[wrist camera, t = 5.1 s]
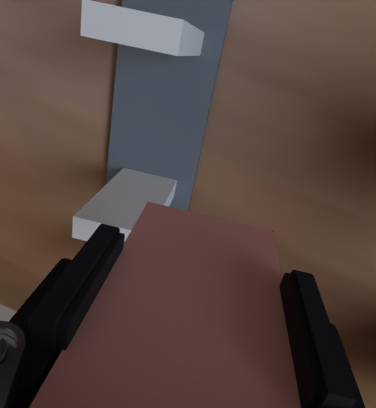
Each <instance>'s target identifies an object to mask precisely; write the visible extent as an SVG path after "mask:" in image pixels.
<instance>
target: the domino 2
mask: <svg viewBox="0 0 376 408" xmlns="http://www.w3.org/2000/svg"><path fill="white" fill-rule="evenodd" d="M176 183H177V180H174V179H170V178H165V177H161V176H157V175H152V174H148V173H144V172H139V171H135V170H131V169H127V168H123V169H122V170H121V171H120V172H119V173H118V174H116V175H115V176H114V177H113V178H112V179H111V180H110V181H109V182H108V183H107V184H106V185H105V186H104V187H103V188H102V189H101V190H100V191H99V192H98V193H97V194H96V195H95V196H94V197H93V198H92V199H91V200H89V201H88V202H87V203H86V204H85V205H84V206H83V207H82V208H81V209H80V210H79V211H78V212H77V213H76V214H75V215H74V216H73V228H72V238H76V239H80V240H84V241H88V239H89V238H90V237H91V236H92V234H93V233H94V232H95V230H96V229H97V228H98V226H99V225H100V224H106V225H110V226H115V227H119V229H120V233H124V234H125V239H124V242H125V241H126V239H127V237H128V235H129V234H130V232H131V230H132V228H133V227H134V225H135V223H136V221H137V220H138V218H139V216H140V215H141V213H142V211H143V209H144V208H145V206H146V204H147V202H152V203H156V204H160V205H165V206H170V204H171V202H172V199H173V197H174V194H175V188H176Z"/></svg>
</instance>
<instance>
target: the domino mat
mask: <svg viewBox="0 0 376 408" xmlns="http://www.w3.org/2000/svg"><path fill="white" fill-rule="evenodd" d="M231 4H232V0H122V3H121V7H124V8H129V9H134V10H139V11H144V12H149V13H154V14H158V15H163V16H168V17H173V18H178V19H183V20H185V21H187V22H188V23H190V24H191V25H193V26H195V27H196V28H198V29H200V30H201V31H203V32H205V33H204V38H203V44H202V49H201V54H200V56H174V55H170V54H165V53H160V52H155V51H151V50H146V49H141V48H137V47H132V46H127V45H122V44H118V50H117V61H116V73H115V84H114V96H113V107H112V119H111V130H110V142H109V153H108V165H107V177H106V184H107V183H108V182H109V181H110V180H111V179H112V178H113V177H114V176H115V175H116V174H118V173H119V172H120V171H121V170H122V169H123V168H127V169H131V170H135V171H139V172H144V173H148V174H152V175H157V176H161V177H165V178H170V179H174V180H177V183H176V188H175V194H174V197H173V199H172V202H171V204H170V206H169V207H173V208H177V209H182V210H186V211H188V208H189V203H190V198H191V193H192V189H193V184H194V179H195V175H196V170H197V165H198V160H199V156H200V151H201V146H202V141H203V137H204V132H205V127H206V122H207V118H208V113H209V108H210V103H211V99H212V94H213V89H214V85H215V80H216V75H217V70H218V66H219V61H220V56H221V51H222V47H223V42H224V37H225V32H226V28H227V23H228V18H229V13H230V9H231Z"/></svg>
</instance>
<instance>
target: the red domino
mask: <svg viewBox="0 0 376 408" xmlns="http://www.w3.org/2000/svg"><path fill="white" fill-rule="evenodd" d="M281 281H282V275H281V270H280V265H279V260H278V255H277V250H276V245H275V240H274V235H273V231H270V230H266V229H262V228H258V227H253V226H249V225H245V224H241V223H236V222H232V221H228V220H224V219H220V218H215V217H211V216H207V215H203V214H198V213H194V212H190V211H186V210H182V209H177V208H173V207H169V206H165V205H160V204H156V203H152V202H147V204H146V206H145V208H144V209H143V211H142V213H141V215H140V216H139V218H138V220H137V221H136V223H135V225H134V227H133V228H132V230H131V232H130V234H129V235H128V237H127V239H126V241H125V242H124V247H123V250H122V252H121V254H120V255H119V257H118V259H117V261H116V262H115V264H114V266H113V268H112V270H111V271H110V273H109V275H108V277H107V278H106V280H105V282H104V284H103V286H102V287H101V289H100V291H99V293H98V294H97V296H96V298H95V300H94V302H93V303H92V305H91V307H90V309H89V310H88V312H87V314H86V316H85V318H84V319H83V321H82V323H81V325H80V326H79V328H78V330H77V332H76V333H75V335H74V337H73V339H72V341H71V342H70V344H69V346H68V348H67V349H66V350H62V351H61V353H60V355H59V357H58V358H57V360H56V362H55V364H54V365H53V367H52V369H51V370H50V372H49V374H48V376H47V377H46V379H45V381H44V383H43V384H42V386H41V388H40V389H39V391H38V393H37V395H36V396H35V398H34V400H33V402H32V403H31V405H30V407H29V408H301V404H300V398H299V393H298V387H297V382H296V376H295V371H294V365H293V360H292V354H291V349H290V343H289V338H288V332H287V327H286V321H285V316H284V310H283V305H282V299H281V294H280V288H279V286H280V283H281Z"/></svg>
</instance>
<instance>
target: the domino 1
mask: <svg viewBox="0 0 376 408" xmlns="http://www.w3.org/2000/svg"><path fill="white" fill-rule="evenodd" d="M204 33H205V32H203V31H201V30H200V29H198V28H196V27H195V26H193V25H191V24H190V23H188V22H187V21H185V20H183V19H178V18H173V17H168V16H163V15H158V14H154V13H149V12H144V11H139V10H134V9H129V8H124V7H119V6H115V5H110V4H105V3H100V2H95V1H90V0H82V13H81V36H85V37H89V38H94V39H99V40H103V41H108V42H113V43H118V44H122V45H127V46H132V47H137V48H141V49H146V50H151V51H155V52H160V53H165V54H170V55H174V56H200V54H201V49H202V44H203V38H204Z"/></svg>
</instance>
